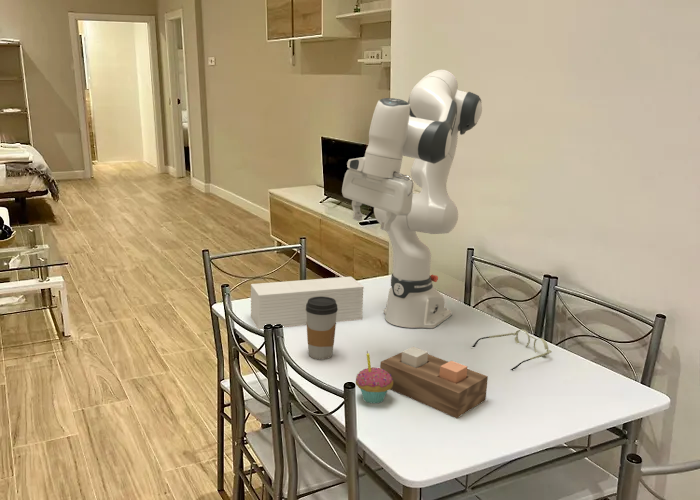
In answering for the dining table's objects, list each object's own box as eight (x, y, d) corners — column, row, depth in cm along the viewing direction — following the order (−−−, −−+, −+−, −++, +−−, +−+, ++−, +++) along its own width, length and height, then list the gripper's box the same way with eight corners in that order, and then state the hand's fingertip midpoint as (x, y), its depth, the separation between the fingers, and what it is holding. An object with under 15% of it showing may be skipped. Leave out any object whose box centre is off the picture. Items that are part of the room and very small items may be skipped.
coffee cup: (332, 363, 167) (333, 307, 163) (300, 359, 168) (301, 304, 164) (339, 350, 174) (341, 297, 171) (309, 347, 176) (310, 294, 172)
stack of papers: (349, 308, 207) (351, 276, 205) (362, 320, 198) (363, 286, 195) (250, 317, 196) (250, 284, 194) (258, 330, 187) (258, 295, 184)
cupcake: (361, 409, 144) (363, 359, 141) (350, 391, 152) (352, 344, 149) (397, 405, 146) (400, 356, 143) (385, 388, 154) (387, 341, 151)
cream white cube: (412, 361, 158) (413, 346, 157) (426, 367, 155) (427, 352, 154) (401, 367, 155) (401, 351, 154) (415, 373, 152) (416, 357, 151)
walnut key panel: (409, 369, 164) (411, 347, 163) (485, 400, 150) (487, 376, 148) (379, 384, 156) (380, 361, 154) (456, 418, 141) (458, 393, 140)
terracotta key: (449, 376, 151) (451, 360, 150) (466, 382, 148) (467, 366, 147) (438, 382, 148) (440, 366, 147) (455, 388, 145) (456, 372, 144)
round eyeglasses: (554, 362, 173) (556, 345, 171) (511, 373, 165) (513, 355, 164) (510, 340, 187) (512, 323, 186) (469, 348, 180) (470, 331, 179)
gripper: (423, 177, 148) (411, 236, 151) (361, 161, 162) (351, 214, 165) (405, 176, 144) (393, 236, 147) (342, 159, 157) (333, 214, 160)
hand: (370, 224), depth 156 cm, fingers open, 8 cm apart
